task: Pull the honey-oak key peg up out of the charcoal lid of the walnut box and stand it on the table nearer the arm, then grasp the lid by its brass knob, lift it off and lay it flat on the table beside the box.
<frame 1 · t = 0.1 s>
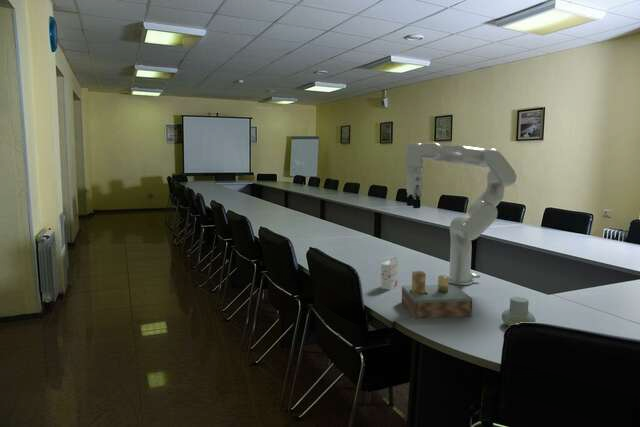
hand: (413, 206, 200), 37 cm above the table, tool pointing down, fingers open, 9 cm apart
toolbox: (435, 308, 170), on the table
key peg: (417, 309, 169), resting in toolbox
air freshener: (517, 327, 152), on the table
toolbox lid: (435, 294, 169), point 6 cm above the table, touching toolbox
ink cartridge box: (389, 287, 199), on the table
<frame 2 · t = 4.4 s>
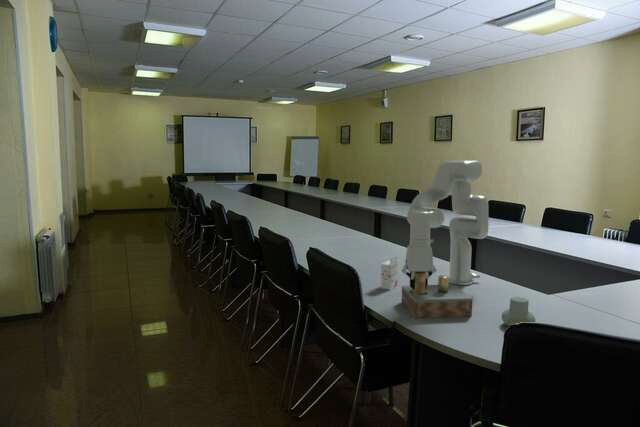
hand: (418, 287, 168), 9 cm above the table, tool pointing down, fingers closed on key peg, 4 cm apart
key peg: (417, 309, 169), resting in toolbox, touching gripper
everything else where it was.
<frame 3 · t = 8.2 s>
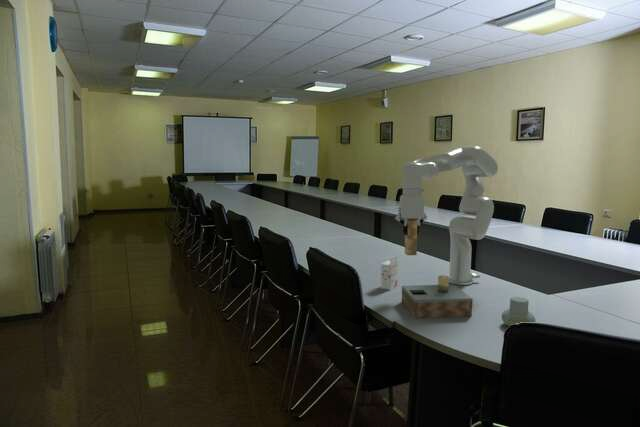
hand: (410, 234, 184), 27 cm above the table, tool pointing down, fingers closed on key peg, 4 cm apart
key peg: (410, 254, 185), point 18 cm above the table, touching gripper
everything else where it was.
when the fingers open (10 cm above the table, at t = 12.0 s): key peg stays where it is, on the table.
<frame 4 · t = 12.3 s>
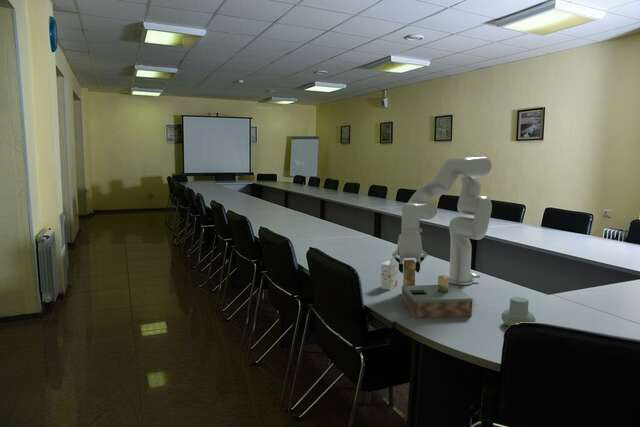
hand: (409, 271, 187), 10 cm above the table, tool pointing down, fingers open, 6 cm apart
key peg: (408, 294, 188), on the table
everything else where it was.
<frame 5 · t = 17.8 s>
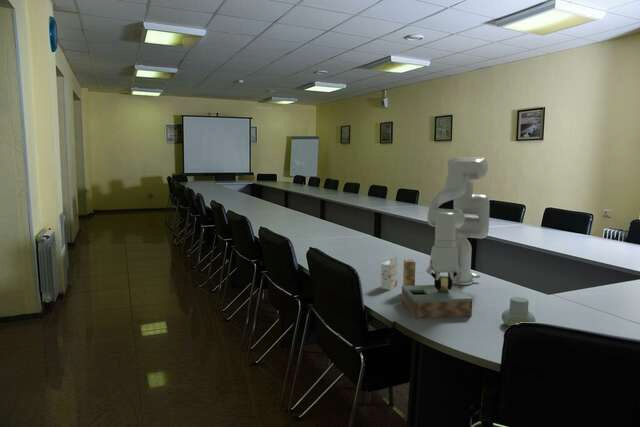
hand: (443, 288, 169), 8 cm above the table, tool pointing down, fingers closed on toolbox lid, 4 cm apart
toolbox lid: (435, 294, 169), point 6 cm above the table, touching gripper, toolbox
everything else where it was.
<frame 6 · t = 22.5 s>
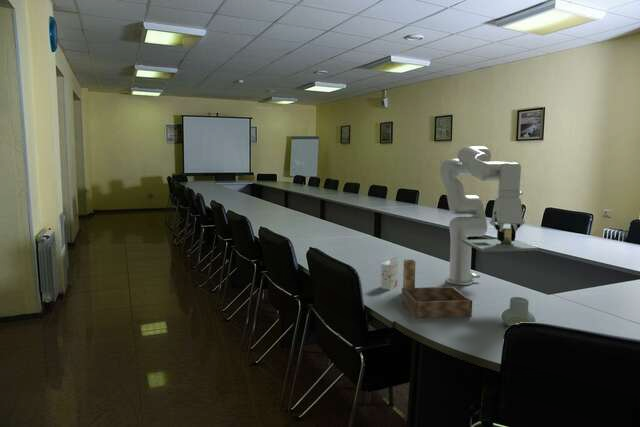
hand: (506, 240, 169), 27 cm above the table, tool pointing down, fingers closed on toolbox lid, 4 cm apart
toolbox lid: (498, 246, 169), point 25 cm above the table, touching gripper
everything else where it was.
when the fingers open (3 cm above the table, at t = 27.4 s): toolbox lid stays where it is, on the table.
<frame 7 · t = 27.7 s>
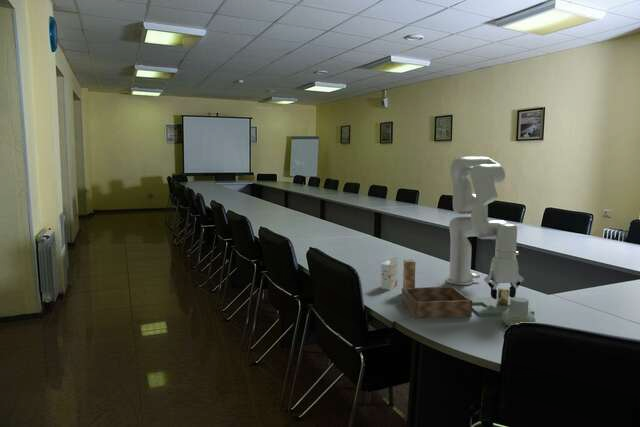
hand: (502, 297, 172), 4 cm above the table, tool pointing down, fingers open, 7 cm apart
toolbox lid: (495, 306, 172), on the table
everything else where it was.
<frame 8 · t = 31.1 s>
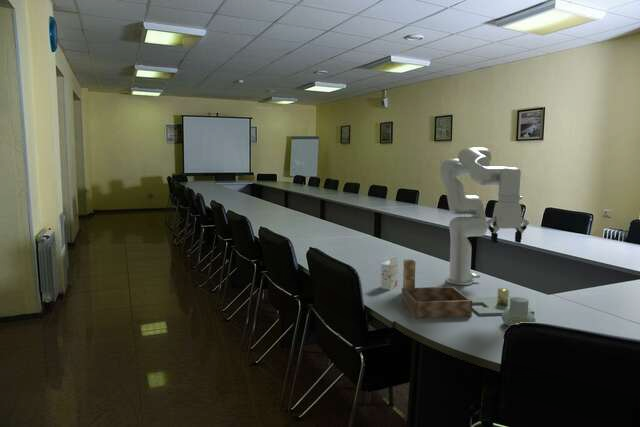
hand: (506, 242, 169), 26 cm above the table, tool pointing down, fingers open, 9 cm apart
nothing on the table moved.
at the end: key peg inside the target area (0.5 cm from its centre), on the table; key peg tilted 0°; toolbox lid inside the target area (0.5 cm from its centre), on the table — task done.
